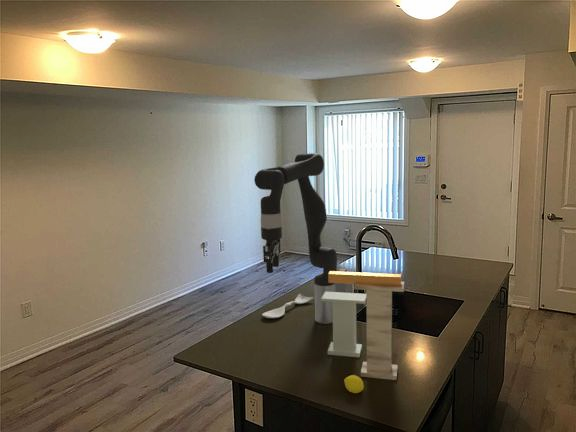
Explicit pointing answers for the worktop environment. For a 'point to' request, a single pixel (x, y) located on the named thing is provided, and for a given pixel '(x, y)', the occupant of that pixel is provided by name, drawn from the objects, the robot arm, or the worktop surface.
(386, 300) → the tall pedestal
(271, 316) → the spoon
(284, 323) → the worktop surface
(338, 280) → the wooden block
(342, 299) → the white i-beam column
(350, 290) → the perfume bottle
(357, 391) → the lemon
